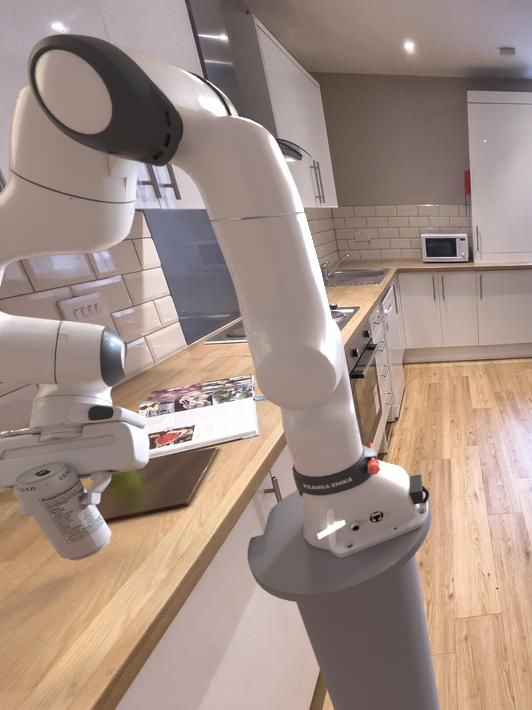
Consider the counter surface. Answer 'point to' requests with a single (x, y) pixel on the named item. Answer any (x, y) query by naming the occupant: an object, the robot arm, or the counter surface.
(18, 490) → the energy drink can
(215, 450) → the coaster board
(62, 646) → the counter surface
